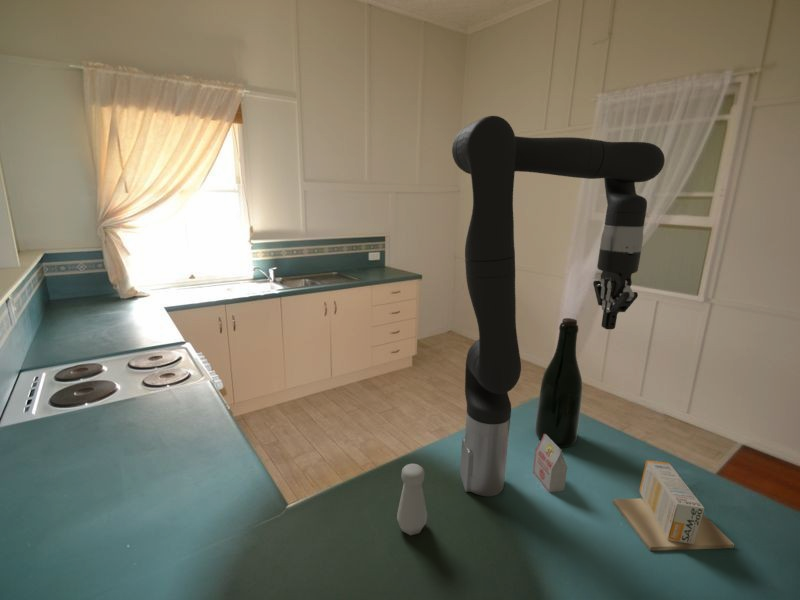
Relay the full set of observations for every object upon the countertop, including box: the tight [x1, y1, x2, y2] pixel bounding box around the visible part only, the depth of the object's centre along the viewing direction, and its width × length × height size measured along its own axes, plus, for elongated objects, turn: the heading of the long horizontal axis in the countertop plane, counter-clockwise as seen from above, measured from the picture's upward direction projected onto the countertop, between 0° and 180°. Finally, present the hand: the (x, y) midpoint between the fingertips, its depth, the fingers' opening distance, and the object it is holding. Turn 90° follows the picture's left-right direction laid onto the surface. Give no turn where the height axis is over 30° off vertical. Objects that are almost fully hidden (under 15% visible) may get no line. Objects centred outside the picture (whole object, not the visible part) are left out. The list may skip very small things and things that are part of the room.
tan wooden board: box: [612, 497, 735, 552], centre depth 79 cm, size 16×12×1 cm
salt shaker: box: [396, 463, 428, 536], centre depth 76 cm, size 6×6×13 cm
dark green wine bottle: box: [534, 317, 583, 448], centre depth 104 cm, size 10×10×33 cm
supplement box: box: [638, 459, 705, 544], centre depth 79 cm, size 8×5×13 cm
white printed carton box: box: [532, 434, 568, 493], centre depth 90 cm, size 4×7×10 cm, turn 11°
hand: (607, 328), depth 87 cm, fingers closed
